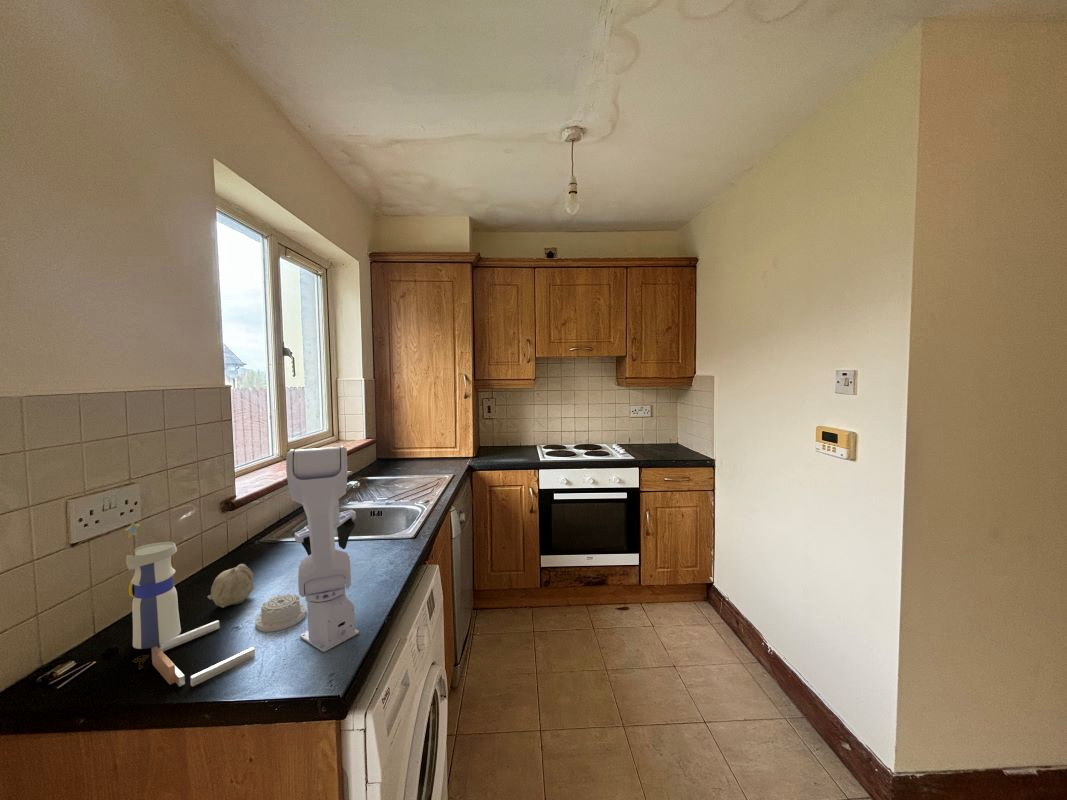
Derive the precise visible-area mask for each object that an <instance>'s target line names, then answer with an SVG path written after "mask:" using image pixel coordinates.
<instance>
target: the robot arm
mask: <svg viewBox="0 0 1067 800" xmlns="http://www.w3.org/2000/svg"><path fill="white" fill-rule="evenodd" d="M285 459H286V462H285V463H286V464H285V465H286V469H285V470H286V479H287V485H288V486H287V487H288V492H289V495H290V496H291V497H290V498H291V501H294V502H296V503H298V504H300V505H302V507H303V510H304V514H305V515H306V516H305V517H306V519H307V525H306V526H304V528H302V529H301V530H299V531H297V532H294V541H295V542H297V543H298V544H301V545H302V546H303V548H304V550H305V551H306V554H307V556H306V557H304V558H302V559H301V560H300V563H299V564H298V577H297V578H298V580H297V581H298V583H297V584H298V587H297V588H298V596H299V597H301V598H305V602H306V604H307V605H306V611H307V628H308V629H307V630H306V631H304V632H302V633H300V635H299V638H300V639H302V640H303V641H305V642H307V643H309V644H310V645H311V646H313V647H314V648H316V649H317V650H319V651H320V652H323V653H326V652H327V651H329V650H331V649H333V648H335V647H336V646H338V645H340V644H341V643H343V642H346V641H347V640H348V639H351V638H353V637H354V636H356V635H359V633H360V630H359V629H357V628H356V621H355V619H356V617H355V606H354V603H353V602H352V601H351V600H349V598H348V597H347V594H346V590H348V589H350V587H351V586H352V573H351V559H350V555H349V553H348V552H346V551H343V550H345V549H346V548H347V546H348V545H347V544H348V541H349V537H350V535H351V533H352V531H353V530H354V528H355V526H356V525H355V524H356V523H355V522H354V521H353V520H356V518H357V514H356V513H357V512H356V511H354V510H353V509H348V510H345V511H342V512H340V504H339V502H340V500H339V499H341V498H342V497H343V496H345V495H346V494H347V489H348V475H349V474H348V449H347V447H345V446H344V445H340V446H332V447H319V448H318V447H317V448H305V449H301V448H300V449H294V448H291V449H289V450H288V451H287V453H286V458H285ZM335 530H337V531H336V532H337V543H338V547H339V548H341V550H339V549H336V543H335V542H336V541H335V539H336V538H335Z"/></svg>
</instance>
